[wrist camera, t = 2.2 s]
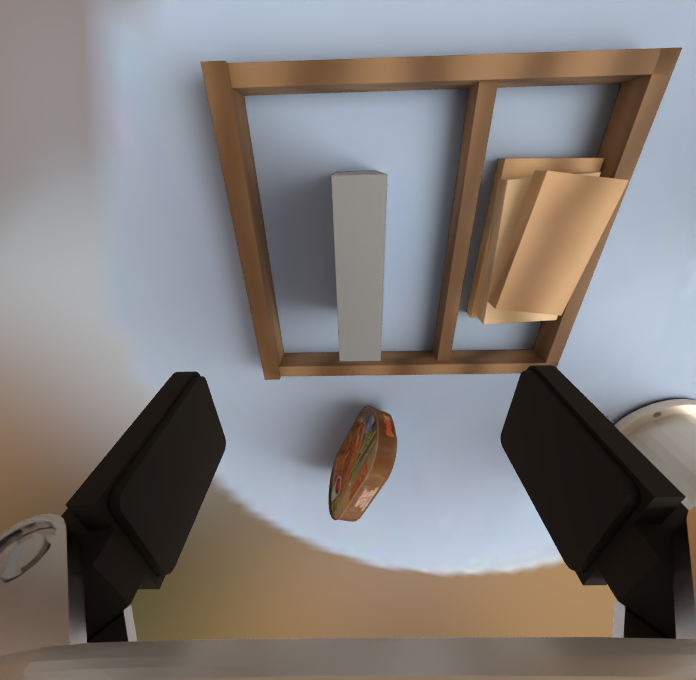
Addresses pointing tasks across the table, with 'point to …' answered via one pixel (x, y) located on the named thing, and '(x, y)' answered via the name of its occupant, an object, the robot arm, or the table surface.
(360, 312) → the grey rectangular block
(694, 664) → the robot arm
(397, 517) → the table surface
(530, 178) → the offcut stack
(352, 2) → the table surface
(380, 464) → the tin
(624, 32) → the table surface
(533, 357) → the rack
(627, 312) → the table surface
